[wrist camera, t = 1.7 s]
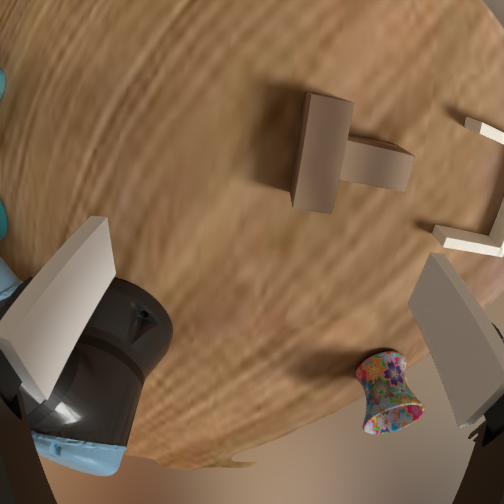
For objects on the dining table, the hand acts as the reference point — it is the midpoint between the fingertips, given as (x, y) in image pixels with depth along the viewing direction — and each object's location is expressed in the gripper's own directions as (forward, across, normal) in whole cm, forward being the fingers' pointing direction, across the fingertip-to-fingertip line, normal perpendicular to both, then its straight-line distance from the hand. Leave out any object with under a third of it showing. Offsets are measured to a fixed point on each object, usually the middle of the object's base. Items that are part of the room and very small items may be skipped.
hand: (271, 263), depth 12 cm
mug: (+19, +22, -31) cm, 43 cm away
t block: (+19, +8, +1) cm, 21 cm away
